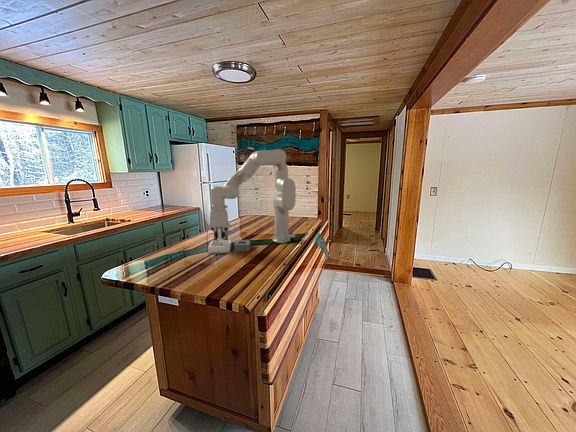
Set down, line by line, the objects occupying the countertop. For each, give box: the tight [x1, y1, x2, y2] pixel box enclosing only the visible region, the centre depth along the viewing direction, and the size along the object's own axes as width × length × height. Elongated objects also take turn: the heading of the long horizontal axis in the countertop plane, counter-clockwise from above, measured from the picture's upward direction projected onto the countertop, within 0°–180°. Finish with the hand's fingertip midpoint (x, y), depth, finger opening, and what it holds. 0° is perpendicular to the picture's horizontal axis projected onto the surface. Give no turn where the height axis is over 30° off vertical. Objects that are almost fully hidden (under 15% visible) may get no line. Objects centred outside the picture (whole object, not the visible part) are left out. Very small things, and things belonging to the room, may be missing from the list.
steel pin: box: [217, 227, 223, 246], centre depth 138 cm, size 3×3×12 cm
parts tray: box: [207, 239, 232, 255], centre depth 140 cm, size 12×12×4 cm
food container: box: [213, 227, 230, 241], centre depth 153 cm, size 12×6×10 cm, turn 58°
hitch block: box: [233, 239, 251, 253], centre depth 142 cm, size 9×9×4 cm
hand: (220, 237), depth 139 cm, fingers closed on steel pin, 3 cm apart
